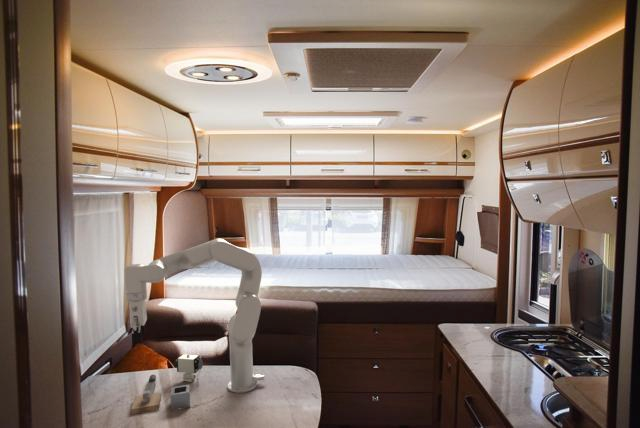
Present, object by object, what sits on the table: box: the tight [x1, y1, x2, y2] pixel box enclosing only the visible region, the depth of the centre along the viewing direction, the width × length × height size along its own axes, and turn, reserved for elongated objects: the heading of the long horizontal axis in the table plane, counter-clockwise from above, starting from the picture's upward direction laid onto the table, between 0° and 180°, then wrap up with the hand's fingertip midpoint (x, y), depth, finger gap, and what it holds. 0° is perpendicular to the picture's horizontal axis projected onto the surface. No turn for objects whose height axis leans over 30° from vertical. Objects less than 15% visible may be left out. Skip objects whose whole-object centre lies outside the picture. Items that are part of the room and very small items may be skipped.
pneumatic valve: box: [173, 353, 204, 383], centre depth 183 cm, size 6×12×12 cm, turn 78°
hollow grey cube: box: [169, 384, 191, 411], centre depth 162 cm, size 7×7×6 cm
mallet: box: [130, 374, 163, 415], centre depth 171 cm, size 10×27×6 cm, turn 17°
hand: (139, 338), depth 162 cm, fingers open, 9 cm apart
